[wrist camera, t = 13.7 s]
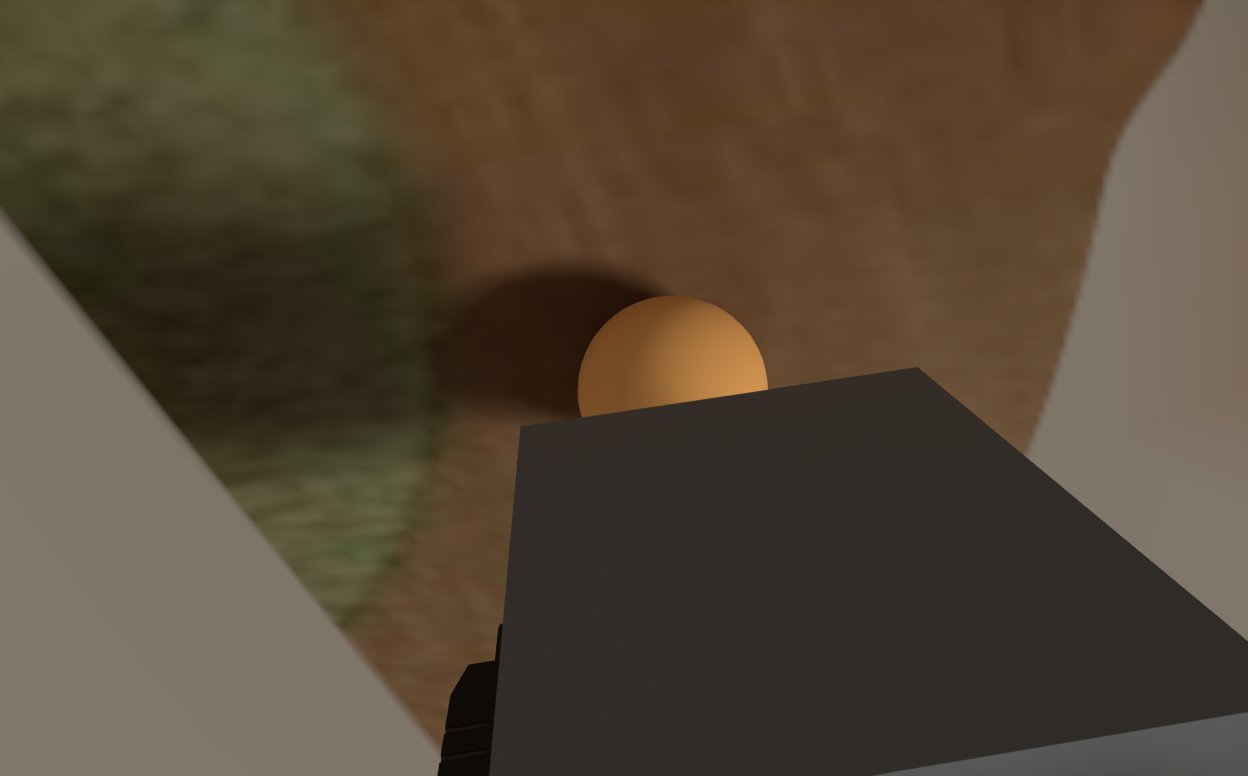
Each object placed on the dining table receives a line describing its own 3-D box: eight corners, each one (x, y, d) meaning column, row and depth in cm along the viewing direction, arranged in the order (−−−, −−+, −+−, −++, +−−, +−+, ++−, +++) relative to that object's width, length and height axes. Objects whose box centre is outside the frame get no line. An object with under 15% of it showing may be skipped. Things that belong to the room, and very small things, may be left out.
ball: (541, 470, 16) (544, 383, 21) (712, 552, 17) (681, 455, 22) (657, 292, 15) (634, 241, 19) (835, 398, 16) (774, 327, 21)
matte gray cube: (579, 708, 14) (600, 1185, 8) (520, 426, 11) (482, 840, 5) (896, 656, 14) (1143, 1083, 8) (917, 367, 11) (1319, 701, 5)
